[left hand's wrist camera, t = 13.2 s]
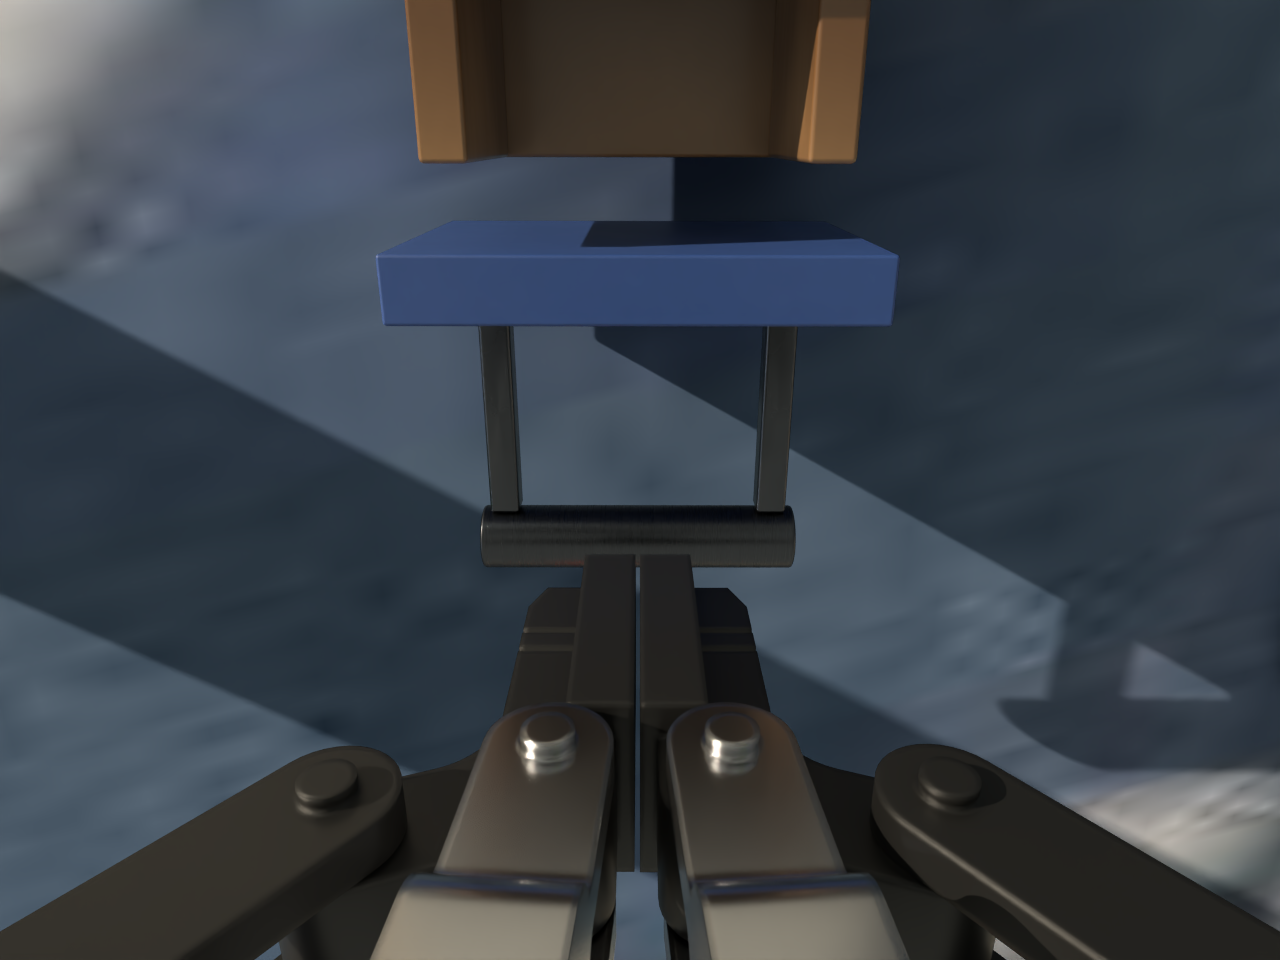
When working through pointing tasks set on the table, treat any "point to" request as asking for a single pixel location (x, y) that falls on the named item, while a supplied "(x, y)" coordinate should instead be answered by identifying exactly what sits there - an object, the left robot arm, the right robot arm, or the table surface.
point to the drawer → (638, 224)
